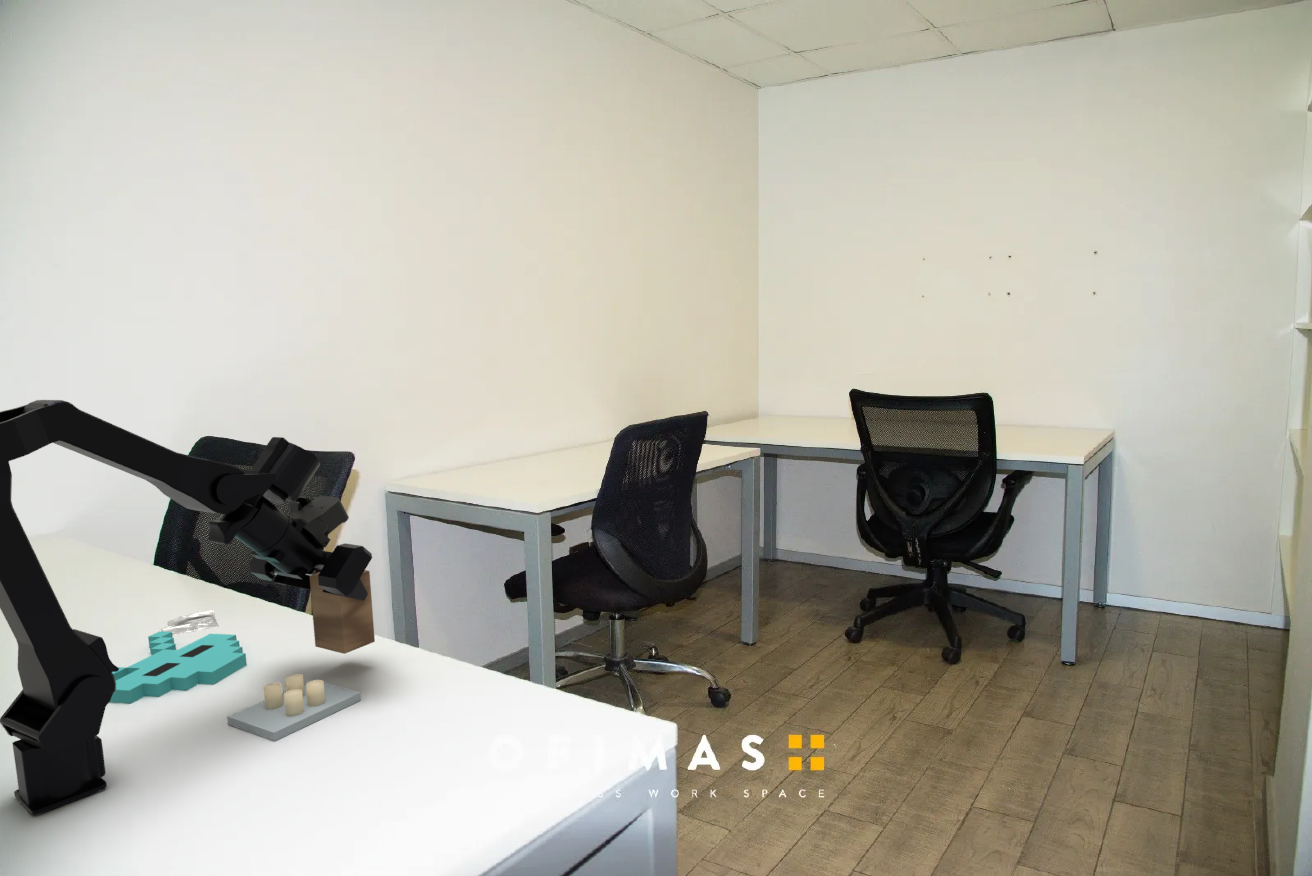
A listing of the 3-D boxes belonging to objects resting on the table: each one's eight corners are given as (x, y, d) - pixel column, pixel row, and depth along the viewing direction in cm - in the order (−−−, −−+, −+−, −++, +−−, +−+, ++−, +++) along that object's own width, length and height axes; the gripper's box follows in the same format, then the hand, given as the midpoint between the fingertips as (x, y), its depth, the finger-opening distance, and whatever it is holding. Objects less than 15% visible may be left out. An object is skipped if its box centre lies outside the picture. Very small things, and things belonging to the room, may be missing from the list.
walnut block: (344, 653, 113) (338, 580, 112) (315, 646, 116) (309, 574, 115) (374, 641, 117) (369, 570, 116) (345, 635, 120) (340, 565, 119)
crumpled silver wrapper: (214, 618, 143) (213, 610, 143) (219, 629, 137) (218, 620, 137) (160, 628, 139) (159, 620, 139) (162, 640, 133) (162, 631, 133)
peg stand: (274, 741, 97) (271, 711, 96) (227, 724, 102) (225, 696, 101) (360, 700, 107) (358, 673, 107) (314, 686, 112) (312, 661, 111)
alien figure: (44, 701, 111) (176, 710, 107) (41, 685, 111) (174, 693, 107) (161, 645, 131) (276, 650, 127) (159, 631, 131) (275, 636, 126)
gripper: (353, 484, 106) (426, 551, 116) (262, 475, 115) (337, 537, 126) (303, 562, 100) (385, 624, 111) (211, 546, 110) (294, 604, 120)
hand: (349, 594), depth 117 cm, fingers closed on walnut block, 6 cm apart
